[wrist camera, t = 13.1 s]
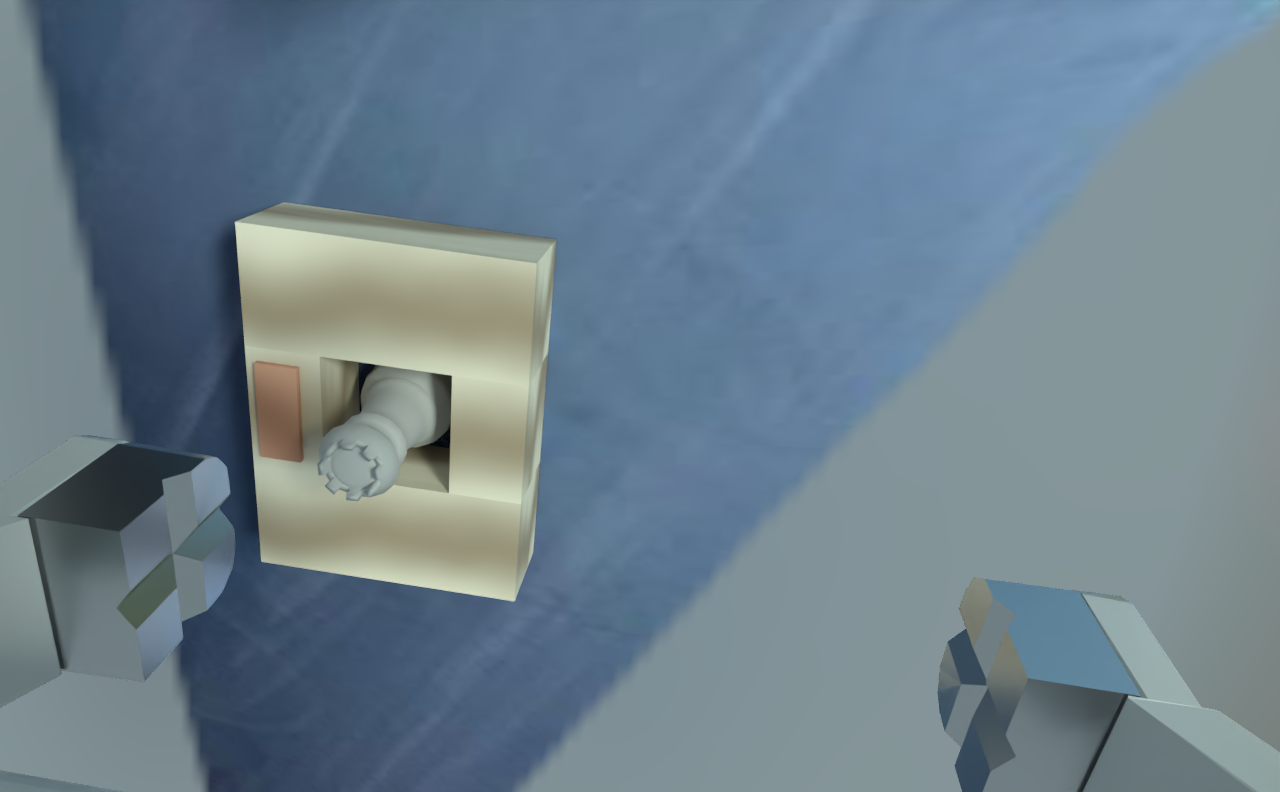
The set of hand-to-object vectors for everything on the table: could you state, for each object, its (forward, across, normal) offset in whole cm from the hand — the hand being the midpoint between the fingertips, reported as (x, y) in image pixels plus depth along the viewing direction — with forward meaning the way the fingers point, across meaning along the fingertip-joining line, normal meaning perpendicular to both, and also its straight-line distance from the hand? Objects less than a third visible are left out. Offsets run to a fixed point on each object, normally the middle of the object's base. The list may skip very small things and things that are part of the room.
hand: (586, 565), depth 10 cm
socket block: (+28, +11, +12) cm, 33 cm away
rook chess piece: (+28, +11, +12) cm, 33 cm away
